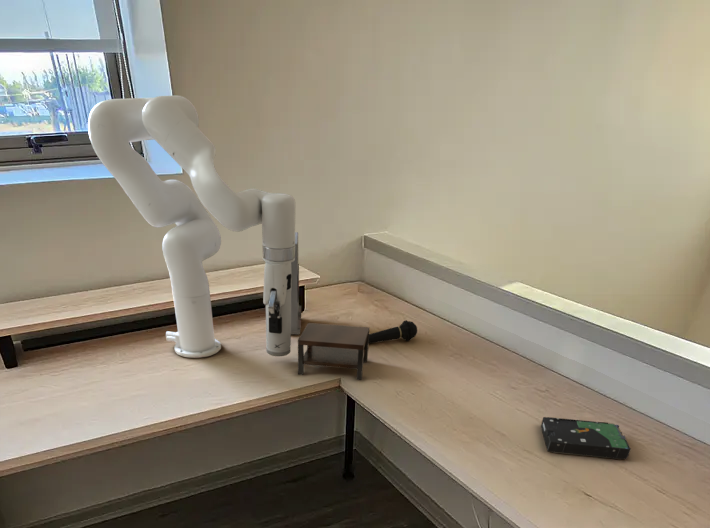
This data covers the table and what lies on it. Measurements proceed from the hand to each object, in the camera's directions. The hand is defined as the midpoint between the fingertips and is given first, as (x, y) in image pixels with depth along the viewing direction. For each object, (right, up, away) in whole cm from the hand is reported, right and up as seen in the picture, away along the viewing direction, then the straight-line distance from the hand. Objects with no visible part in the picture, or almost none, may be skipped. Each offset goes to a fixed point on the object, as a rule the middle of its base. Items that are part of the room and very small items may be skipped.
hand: (279, 327), depth 140 cm
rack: (+14, -10, +3) cm, 17 cm away
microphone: (+28, +1, +17) cm, 33 cm away
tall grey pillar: (+2, +7, +27) cm, 28 cm away
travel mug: (0, -6, +4) cm, 7 cm away
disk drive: (+63, -31, -27) cm, 75 cm away
